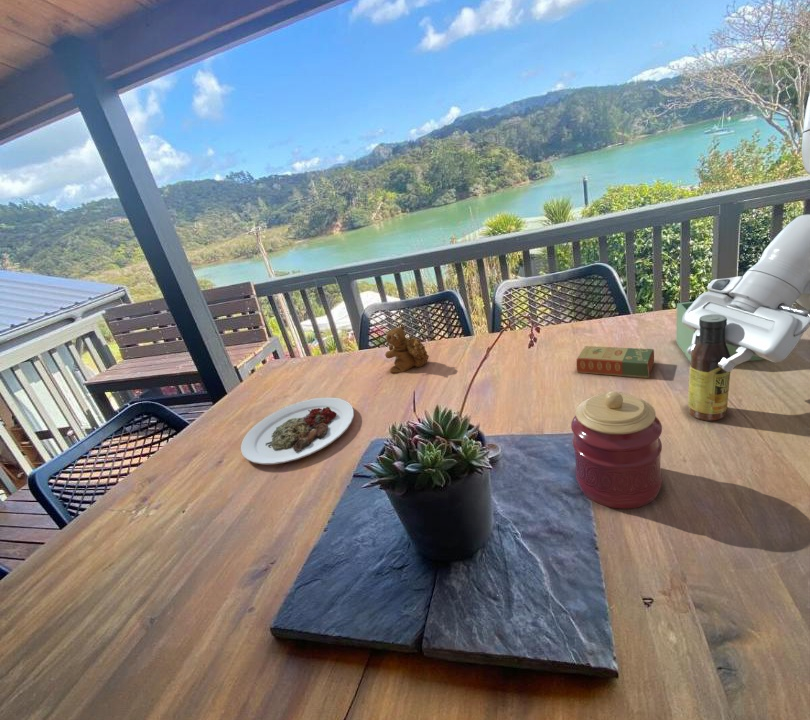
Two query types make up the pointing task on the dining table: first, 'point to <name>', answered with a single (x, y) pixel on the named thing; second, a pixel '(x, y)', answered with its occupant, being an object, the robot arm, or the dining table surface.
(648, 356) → the carton
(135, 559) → the dining table surface
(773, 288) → the robot arm
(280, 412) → the plated food
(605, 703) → the dining table surface
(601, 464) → the kitchen canister
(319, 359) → the dining table surface
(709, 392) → the sauce bottle
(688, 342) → the bin
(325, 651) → the dining table surface
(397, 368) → the stuffed squirrel
